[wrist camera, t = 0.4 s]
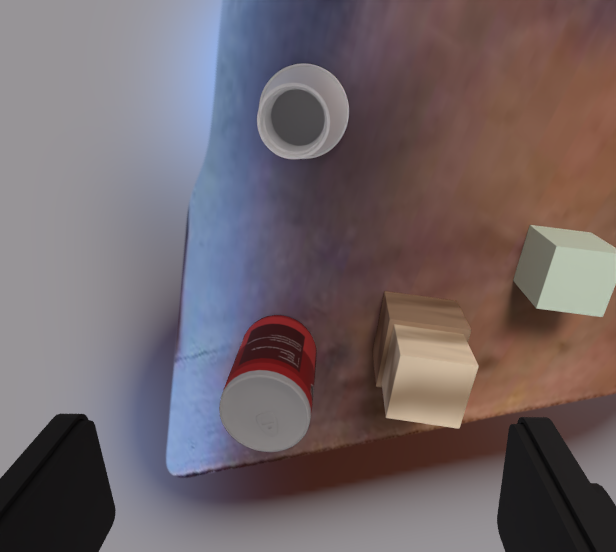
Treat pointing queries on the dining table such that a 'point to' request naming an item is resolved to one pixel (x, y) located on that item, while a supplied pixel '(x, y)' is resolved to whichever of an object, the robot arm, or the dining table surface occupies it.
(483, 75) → the dining table surface
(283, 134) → the vase
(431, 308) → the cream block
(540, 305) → the sage block
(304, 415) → the canned food
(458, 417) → the beech block
